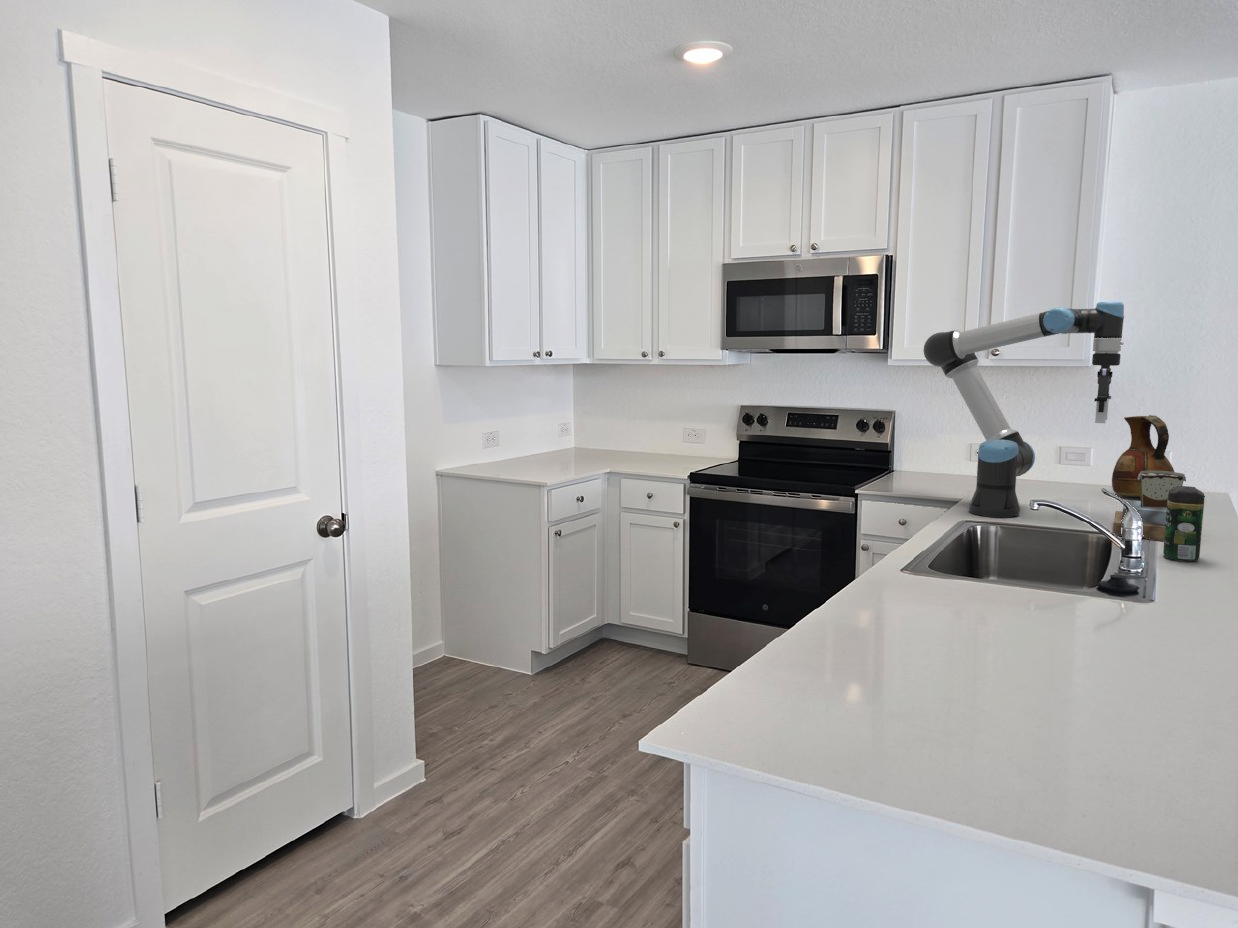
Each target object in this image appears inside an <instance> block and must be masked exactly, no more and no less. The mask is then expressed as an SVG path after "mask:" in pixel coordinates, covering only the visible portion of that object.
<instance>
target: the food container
mask: <svg viewBox="0 0 1238 928" xmlns="http://www.w3.org/2000/svg"><path fill="white" fill-rule="evenodd" d="M1186 477H1187V476H1185V473H1181V472H1175V471H1174V472H1168V471H1141V472H1140V474H1139V475H1138V478H1137V479H1138V480H1140V497H1139V498H1140V501H1141V507H1145V508H1167V501H1168V494H1169V490H1170V489H1172V488H1175V487H1177V486H1184V482H1187V479H1186Z"/></svg>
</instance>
